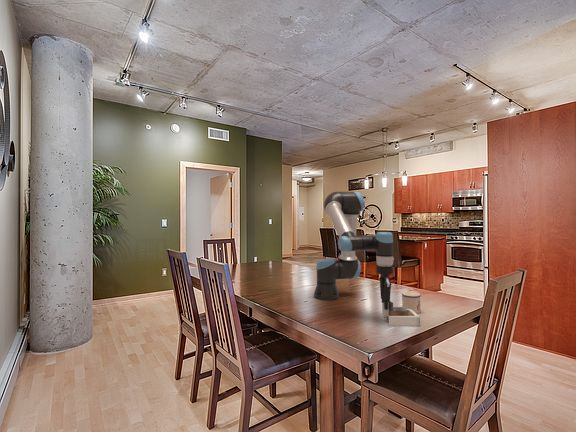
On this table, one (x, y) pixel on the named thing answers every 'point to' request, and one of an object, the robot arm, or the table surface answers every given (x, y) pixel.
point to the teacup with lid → (411, 300)
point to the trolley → (397, 311)
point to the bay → (404, 319)
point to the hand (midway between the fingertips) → (385, 315)
